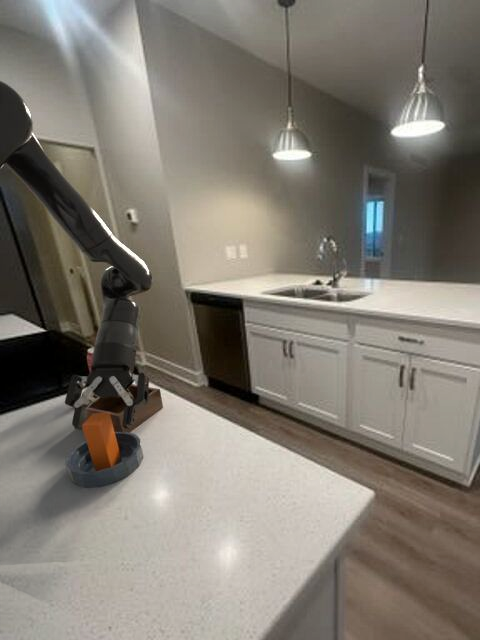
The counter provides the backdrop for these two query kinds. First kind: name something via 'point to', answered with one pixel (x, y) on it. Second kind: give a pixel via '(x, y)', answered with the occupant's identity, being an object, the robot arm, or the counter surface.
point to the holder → (118, 405)
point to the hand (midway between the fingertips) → (102, 428)
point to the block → (101, 441)
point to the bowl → (86, 475)
